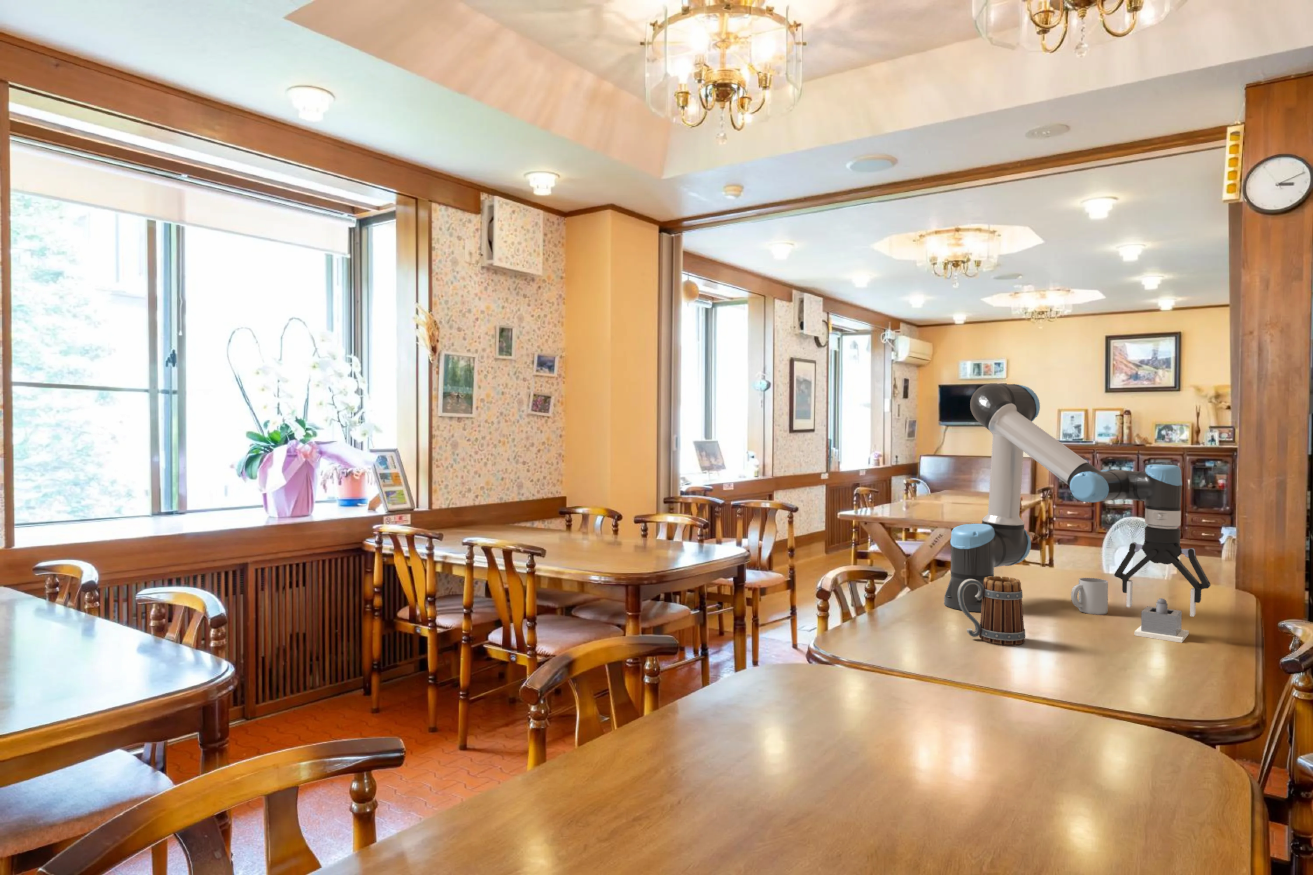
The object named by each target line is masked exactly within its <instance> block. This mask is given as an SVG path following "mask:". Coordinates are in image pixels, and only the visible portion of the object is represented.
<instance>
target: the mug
mask: <svg viewBox="0 0 1313 875" xmlns="http://www.w3.org/2000/svg"><path fill="white" fill-rule="evenodd" d="M1021 583H1022V582H1021V581H1020V579H1018V578H1015V577H1008V576H1002V577H1001V576H1000V575H998V576H997V575H994V578H993V576H989V577H985V579H984V584H983V585H982V584H981V583H980V582H979V581H977V580H974V579H967V580H965V581H963V582H962V583H961V584H960V586H959V589H958V601H959V605H960V608H961V609H962V610H961V611H962V613H963V614H964V615H965V617H967V618H968V619H969V620H970V621H971V622H972V624H974V627H975V628H974V630H973V629H972V628H971V627H969V628H966V632H967V634H968V635H969V636H971V637H972V638H976V637H979V638H980V639H981V640H982V642H986V643H989V644H992V645H998V646H1008V647H1009V646H1012V647H1013V646H1014V647H1015V646H1019V645H1022V644H1023V643H1025V641H1026V629H1025V624H1024V623H1025V622H1024V610H1023V609H1024V608H1023V596H1024V595H1023V589H1022V584H1021ZM970 584H975V585H977V586H978V594H977V595H976V596H975V597H976V598H977V599H978V600H981V599H982V607H981V612H980V619H979V620H980V621H978V620H977V619H976V618H975V617H974V616H973V615H972V613H970V611H968V610H967V609H966V606H965V603H964V597H963V594H964V590H965V588H966V587H967V586H968V585H970Z"/></svg>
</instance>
